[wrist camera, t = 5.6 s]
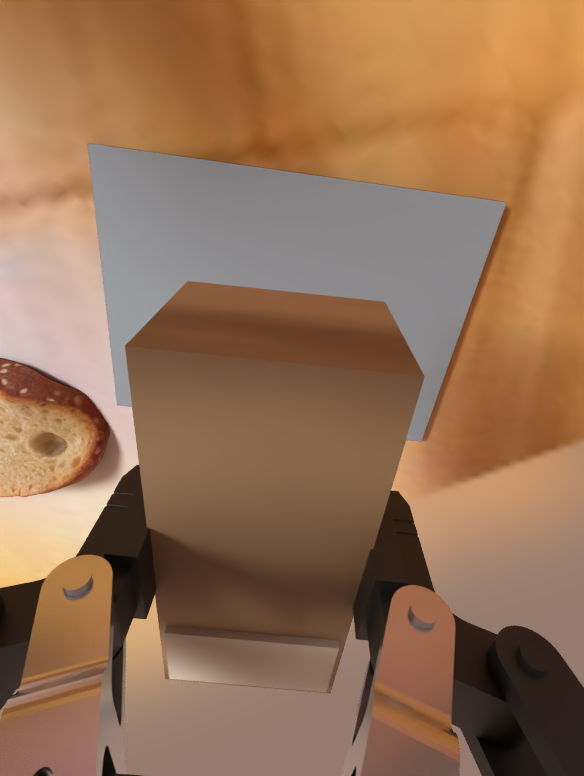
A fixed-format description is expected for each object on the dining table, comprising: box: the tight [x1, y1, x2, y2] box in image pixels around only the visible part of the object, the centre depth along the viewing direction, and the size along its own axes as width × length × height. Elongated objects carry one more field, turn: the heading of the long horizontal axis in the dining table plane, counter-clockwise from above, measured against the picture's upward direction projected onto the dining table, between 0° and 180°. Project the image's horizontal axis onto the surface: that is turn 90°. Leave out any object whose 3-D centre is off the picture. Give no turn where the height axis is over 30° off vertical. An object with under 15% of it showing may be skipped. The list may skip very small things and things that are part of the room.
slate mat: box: [88, 143, 506, 442], centre depth 25 cm, size 22×16×1 cm
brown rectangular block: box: [125, 281, 425, 693], centre depth 11 cm, size 11×5×4 cm, turn 174°
